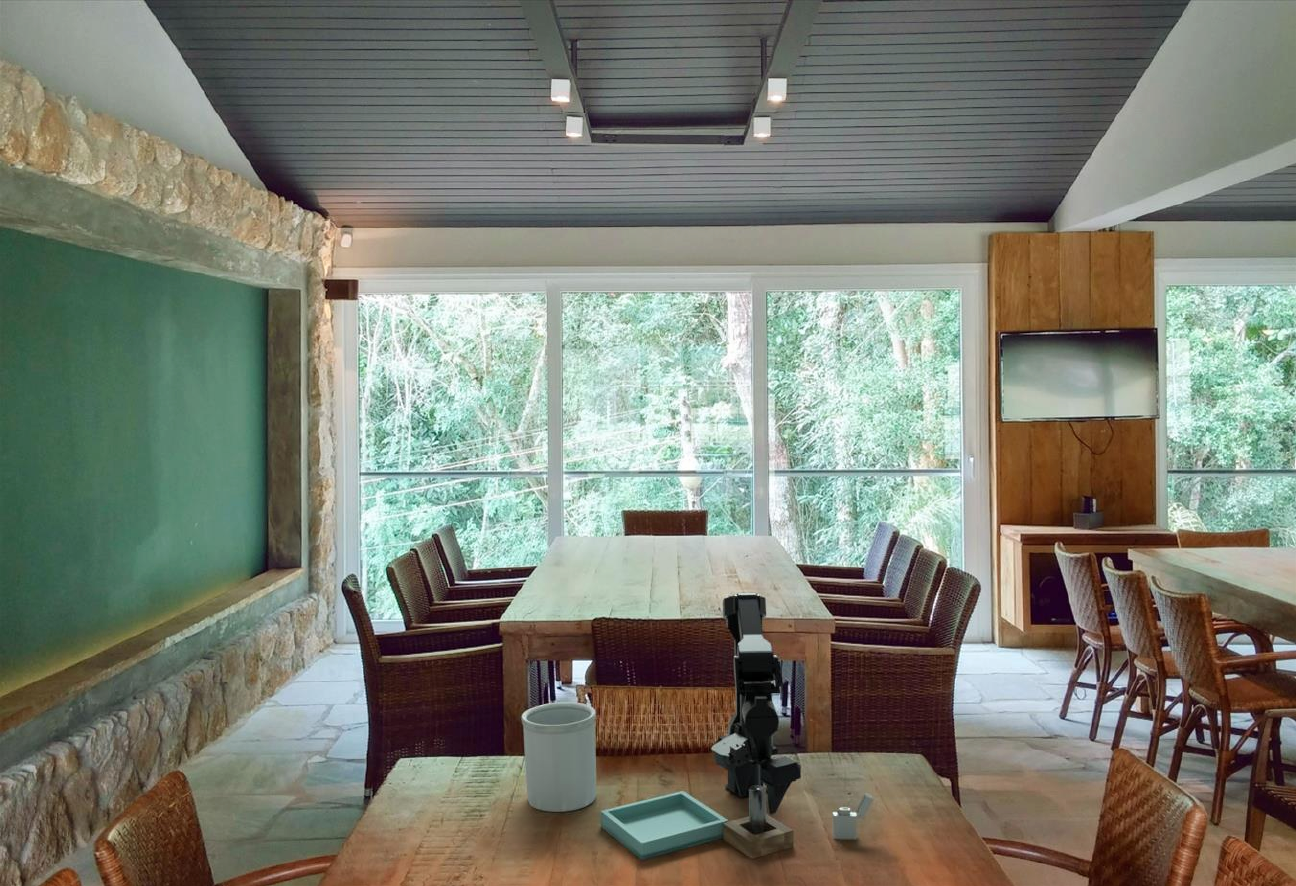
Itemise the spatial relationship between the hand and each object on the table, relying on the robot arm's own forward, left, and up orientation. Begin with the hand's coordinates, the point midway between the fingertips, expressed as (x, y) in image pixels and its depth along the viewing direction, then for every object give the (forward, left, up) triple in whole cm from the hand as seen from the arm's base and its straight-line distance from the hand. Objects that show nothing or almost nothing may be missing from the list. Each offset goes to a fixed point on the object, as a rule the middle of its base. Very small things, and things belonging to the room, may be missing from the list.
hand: (757, 804), depth 183 cm
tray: (+12, -13, -7) cm, 19 cm away
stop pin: (0, 0, -7) cm, 7 cm away
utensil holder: (+22, -37, -7) cm, 44 cm away
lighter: (-16, +7, -7) cm, 19 cm away
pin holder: (0, 0, -7) cm, 7 cm away
